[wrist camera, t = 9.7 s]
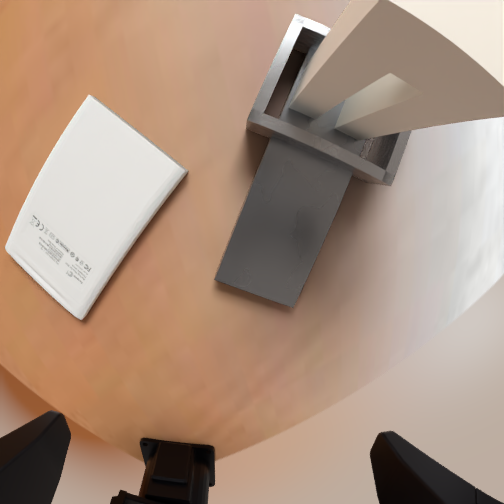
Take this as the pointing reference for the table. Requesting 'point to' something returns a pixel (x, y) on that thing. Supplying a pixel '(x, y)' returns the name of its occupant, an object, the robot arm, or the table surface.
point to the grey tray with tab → (297, 183)
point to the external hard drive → (90, 205)
